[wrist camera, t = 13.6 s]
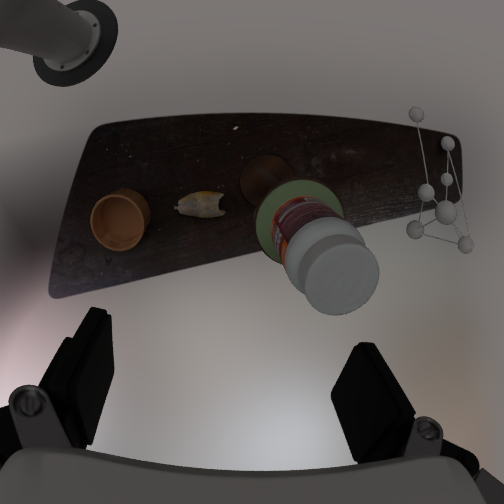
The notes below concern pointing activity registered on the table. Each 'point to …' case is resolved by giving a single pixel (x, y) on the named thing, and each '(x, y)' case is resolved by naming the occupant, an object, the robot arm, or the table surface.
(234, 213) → the table surface
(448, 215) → the molecule model
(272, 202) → the coaster
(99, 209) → the bowl
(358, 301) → the pill bottle
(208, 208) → the cream hollow shell
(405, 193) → the table surface
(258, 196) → the stand
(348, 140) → the table surface
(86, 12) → the robot arm
